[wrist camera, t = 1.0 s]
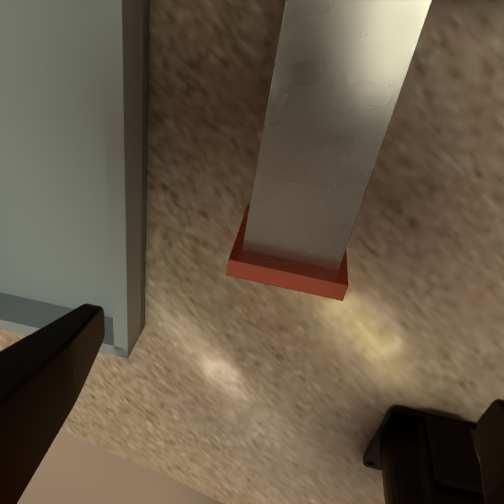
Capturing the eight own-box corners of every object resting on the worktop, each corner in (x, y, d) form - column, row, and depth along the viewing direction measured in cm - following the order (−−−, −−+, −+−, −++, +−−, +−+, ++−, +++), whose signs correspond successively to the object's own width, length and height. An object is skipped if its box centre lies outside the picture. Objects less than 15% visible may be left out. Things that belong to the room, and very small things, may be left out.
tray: (144, 326, 27) (127, 358, 24) (-9, 292, 27) (-38, 320, 25) (149, -70, 15) (120, -76, 13) (-115, -120, 16) (-185, -134, 13)
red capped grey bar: (340, 238, 21) (342, 301, 17) (245, 217, 21) (226, 275, 17) (493, -224, 12) (572, -317, 8) (325, -252, 12) (324, -358, 8)
